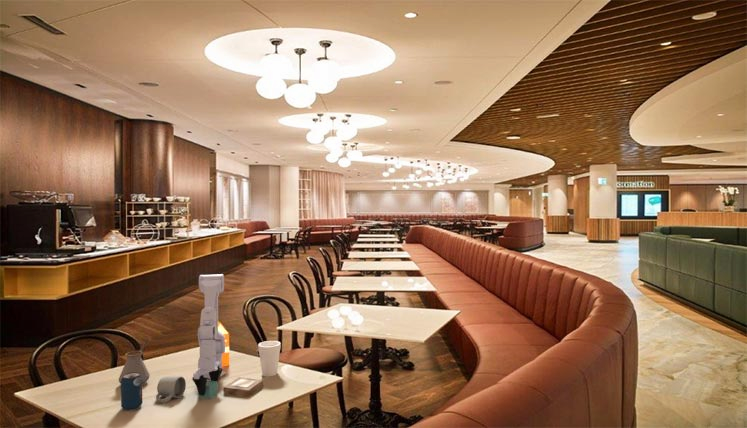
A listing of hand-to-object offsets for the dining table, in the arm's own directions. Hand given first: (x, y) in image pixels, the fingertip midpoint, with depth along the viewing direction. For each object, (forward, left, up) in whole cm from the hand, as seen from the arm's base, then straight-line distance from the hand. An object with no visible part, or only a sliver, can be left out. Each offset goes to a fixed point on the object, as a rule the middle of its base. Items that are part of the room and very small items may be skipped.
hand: (208, 391), depth 187 cm
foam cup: (+11, +28, -2) cm, 30 cm away
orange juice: (-18, +32, -2) cm, 37 cm away
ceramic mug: (-13, -6, -2) cm, 14 cm away
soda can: (-20, -17, -2) cm, 26 cm away
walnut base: (+10, +9, -2) cm, 14 cm away
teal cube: (0, 0, -2) cm, 2 cm away
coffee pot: (-38, +6, -2) cm, 39 cm away
